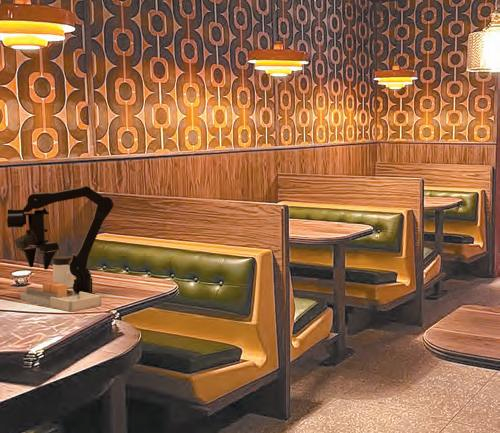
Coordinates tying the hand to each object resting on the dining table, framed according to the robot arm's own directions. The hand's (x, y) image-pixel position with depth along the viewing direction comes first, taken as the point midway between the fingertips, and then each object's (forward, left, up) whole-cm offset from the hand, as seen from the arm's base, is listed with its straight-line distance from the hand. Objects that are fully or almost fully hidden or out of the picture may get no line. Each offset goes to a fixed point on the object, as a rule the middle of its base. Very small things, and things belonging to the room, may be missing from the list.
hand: (38, 268), depth 262 cm
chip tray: (0, +23, -11) cm, 26 cm away
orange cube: (0, +13, -9) cm, 16 cm away
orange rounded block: (0, +8, -9) cm, 12 cm away
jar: (-18, -11, -11) cm, 24 cm away
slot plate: (0, +7, -11) cm, 13 cm away
